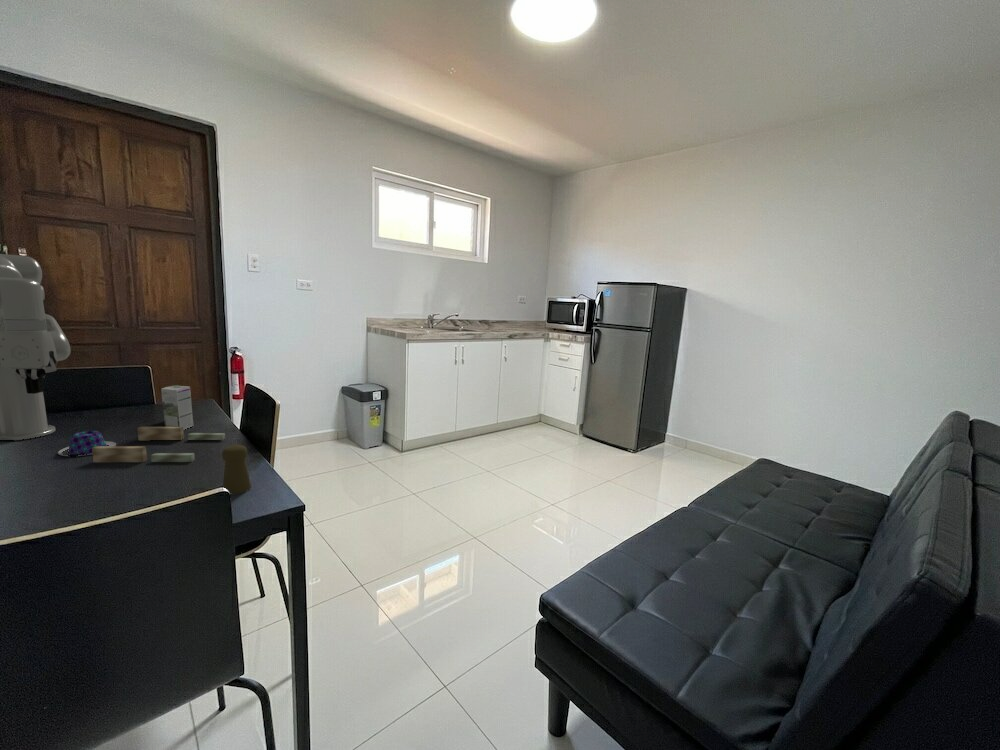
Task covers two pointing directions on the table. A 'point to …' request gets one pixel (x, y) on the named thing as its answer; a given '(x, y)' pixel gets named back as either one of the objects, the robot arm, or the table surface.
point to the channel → (140, 451)
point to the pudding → (85, 442)
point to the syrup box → (177, 406)
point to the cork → (235, 469)
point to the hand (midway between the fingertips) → (35, 392)
